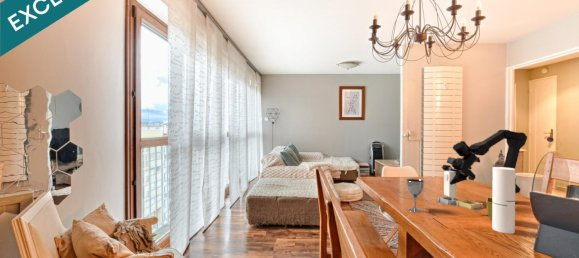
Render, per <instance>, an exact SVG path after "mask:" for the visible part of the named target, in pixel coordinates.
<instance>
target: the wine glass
mask: <svg viewBox="0 0 579 258" xmlns="http://www.w3.org/2000/svg"><path fill="white" fill-rule="evenodd" d="M424 186H425V181H424V180H423V179H420V178H407V179H406V189H407V192H408V193H409V194H410V196H412V199H413V207H409V208H407V211H409V212H412V213H423V212H424V210H423V209H420V208H417V200H418V197H419V196H420V195H421V194H422V193H423V192H424Z"/></svg>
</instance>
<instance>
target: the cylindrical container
mask: <svg viewBox="0 0 579 258" xmlns="http://www.w3.org/2000/svg"><path fill="white" fill-rule="evenodd" d="M515 178H516V168H515V169H513V168H506V167H504V166H494V167H492V197H491V198H492V221H491V223H492V224H491V225H492V226H491V227H492V230H494V231H495V232H497V233H498V232H499V233H502V234H508V235H509V234H515V233H516V203H515V201H516V193H515Z"/></svg>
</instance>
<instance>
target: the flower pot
mask: <svg viewBox="0 0 579 258" xmlns="http://www.w3.org/2000/svg"><path fill="white" fill-rule="evenodd" d="M485 203H486V211H487V212H486V213H487V216H488V218H489V219H490V221H491V222H492V197H488V196H487V197H486V202H485Z"/></svg>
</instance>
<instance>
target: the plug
mask: <svg viewBox="0 0 579 258" xmlns="http://www.w3.org/2000/svg"><path fill="white" fill-rule="evenodd" d="M455 176H456V172H454V171H444V170H443V195H444V196H445V197H457V183H455V184H453V185H451V184H450V182H451V181H452V179H453V178H454V177H455Z"/></svg>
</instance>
